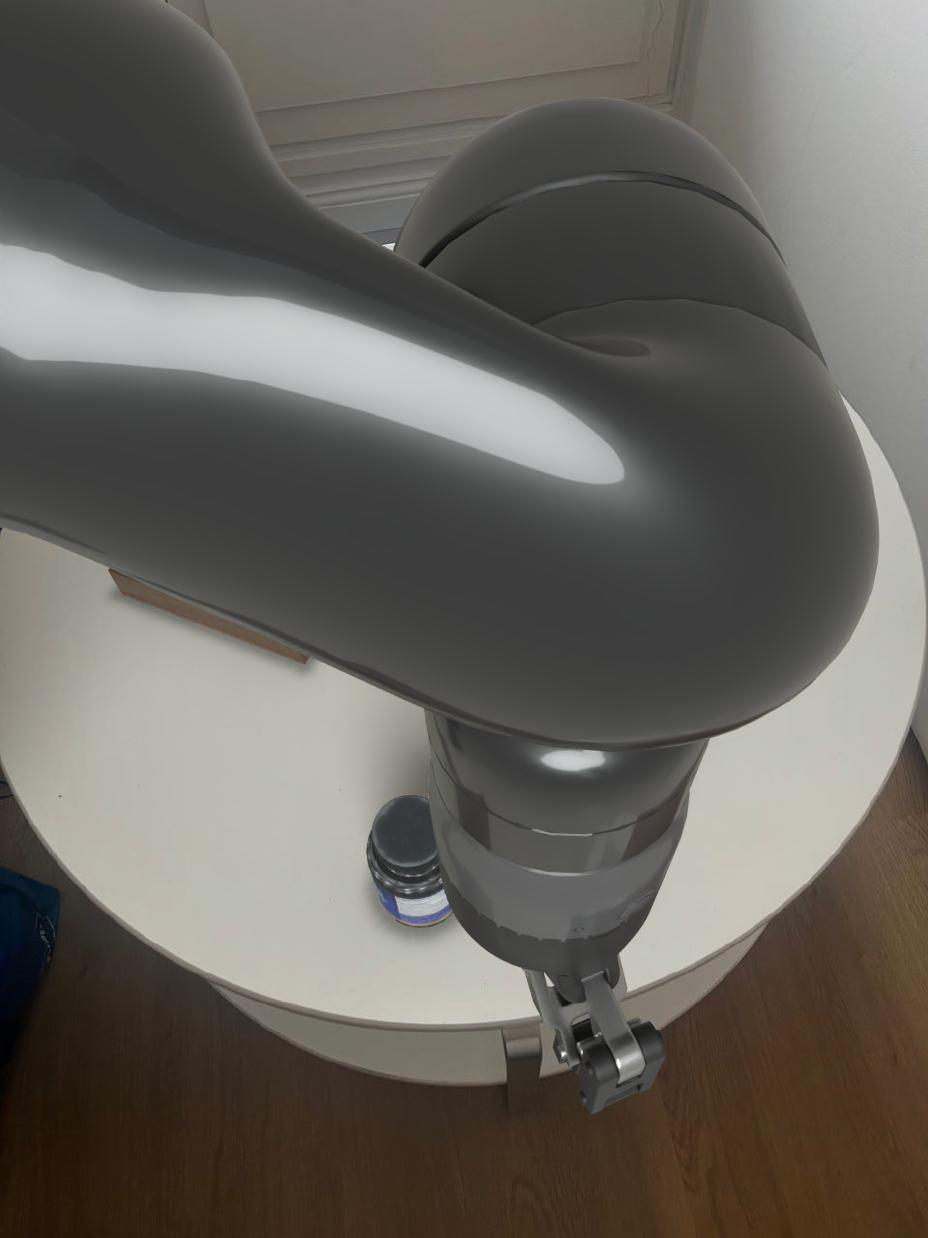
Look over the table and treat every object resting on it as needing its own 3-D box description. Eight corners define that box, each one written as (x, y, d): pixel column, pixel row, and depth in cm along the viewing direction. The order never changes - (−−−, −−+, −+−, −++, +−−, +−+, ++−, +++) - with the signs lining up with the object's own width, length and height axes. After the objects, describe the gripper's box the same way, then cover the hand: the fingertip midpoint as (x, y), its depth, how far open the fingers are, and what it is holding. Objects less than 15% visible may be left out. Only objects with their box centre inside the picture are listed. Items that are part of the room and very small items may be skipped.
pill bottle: (376, 850, 68) (357, 788, 59) (460, 840, 69) (453, 776, 59) (381, 936, 65) (362, 884, 56) (469, 925, 65) (464, 872, 56)
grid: (305, 664, 77) (297, 642, 74) (121, 594, 82) (107, 570, 79) (403, 506, 87) (400, 480, 84) (233, 451, 91) (224, 424, 88)
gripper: (366, 669, 32) (407, 841, 46) (535, 1102, 25) (524, 1156, 38) (567, 599, 34) (549, 787, 47) (786, 990, 26) (690, 1080, 39)
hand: (538, 952), depth 43 cm, fingers open, 8 cm apart
